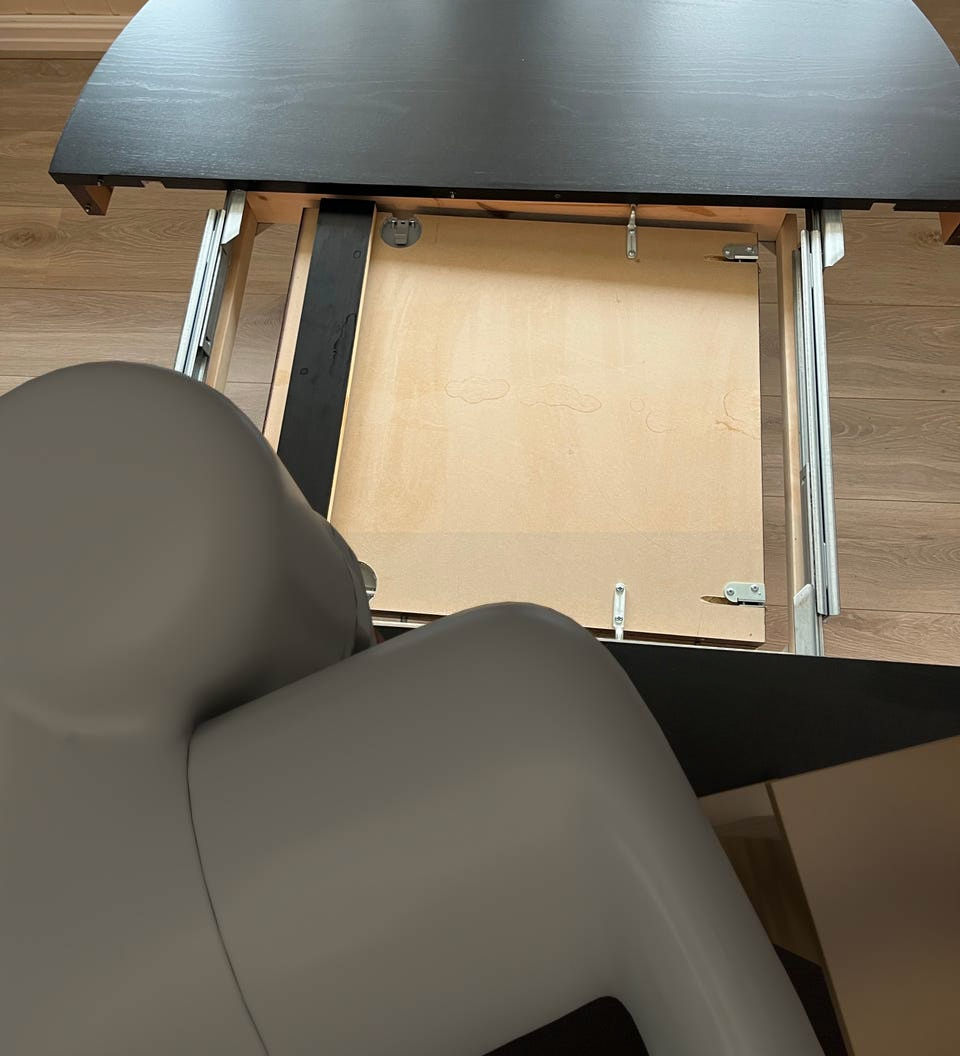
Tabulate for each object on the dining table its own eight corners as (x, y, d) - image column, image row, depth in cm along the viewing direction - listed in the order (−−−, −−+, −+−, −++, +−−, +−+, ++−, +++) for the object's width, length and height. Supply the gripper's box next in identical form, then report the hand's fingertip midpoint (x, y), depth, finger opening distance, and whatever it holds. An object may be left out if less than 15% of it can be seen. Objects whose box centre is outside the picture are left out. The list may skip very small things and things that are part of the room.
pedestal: (829, 925, 69) (1203, 1051, 31) (681, 962, 69) (879, 1136, 31) (780, 769, 73) (1062, 710, 35) (639, 803, 73) (769, 781, 34)
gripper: (422, 917, 28) (463, 888, 45) (317, 350, 34) (387, 511, 51) (142, 986, 28) (289, 930, 45) (88, 401, 34) (234, 546, 51)
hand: (341, 706), depth 48 cm, fingers closed on block, 5 cm apart
